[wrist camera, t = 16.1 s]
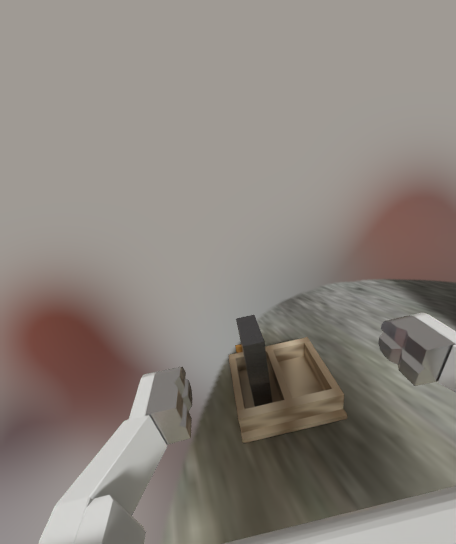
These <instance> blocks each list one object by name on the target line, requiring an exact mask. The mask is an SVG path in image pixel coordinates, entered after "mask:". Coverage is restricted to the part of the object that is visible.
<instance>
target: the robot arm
mask: <svg viewBox="0 0 456 544" xmlns="http://www.w3.org/2000/svg"><path fill="white" fill-rule="evenodd" d="M381 330H382V331H383V333H382V335H381V336H380V337H379V342H378V344H379V347H380V350H381V352H382V353H383V355H384V356H385V357H386V358H387V359H388V360H389V361H391V362H393V363H395V364H397V365H398V369H399V371H400V372H401V373H402V374H403V375H404V376H405V377H406V378H407V379H408V380H409V381H410V382H411V383H412V384H413V385H414V386H418V385H423V384H428V383H433V382H438V383H439V384H441V385H443V386H444V387H446V388H448V389H450V390H452V391H454V392H456V331H454V330H453V329H451V328H449V327H448V326H446V325H444V324H443V323H441V322H440V321H438V320H436V319H435V318H433V317H432V316H430V315H428V314H426V313H418V314H413V315H409V316H404V317H400V318H396V319H391V320H387V321H384V322H383V323H382V325H381ZM185 374H186V373H185V370H184V369H183V367H178V368H173V369H168V370H164V371H158V372H154V373H149V374H144V375H143V376H142V378H141V380H140V383H139V387H138V390H137V393H136V397H135V400H134V403H133V407H132V410H131V414H130V417H129V420H125V421H124V422H123V423H122V424H121V426H120V427H119V428H118V429H117V431H116V432H115V433H114V434H113V435H112V437H111V438H110V439H109V440H108V441H107V443H106V444H105V445H104V446H103V448H102V449H101V450H100V451H99V452H98V454H97V455H96V456H95V457H94V459H93V460H92V461H91V462H90V463H89V465H88V466H87V467H86V468H85V470H84V471H83V472H82V473H81V475H80V476H79V477H78V478H77V479H76V481H75V482H74V483H73V484H72V486H71V487H70V488H69V489H68V490H67V492H66V493H65V494H64V495H63V497H62V498H61V499H60V500H59V501H58V503H57V504H56V505H55V507H54V509H53V511H52V513H51V516H50V518H49V520H48V523H47V525H46V527H45V530H44V532H43V534H42V536H41V538H40V541H39V543H38V544H144V540H145V533H146V532H145V530H144V528H143V526H142V525H141V524H140V523H138V521H137V520H135V519H134V518H133V517H132V514H133V513H134V511H135V509H136V507H137V505H138V503H139V501H140V499H141V497H142V495H143V493H144V491H145V489H146V487H147V485H148V483H149V481H150V479H151V477H152V475H153V473H154V471H155V470H156V468H157V466H158V464H159V461H160V460H161V458H162V456H163V454H164V452H165V450H166V448H167V444H171V443H175V442H179V441H182V440H186V439H190V438H191V416H190V414H189V410H190V408H191V407H192V391H191V386H190V383H189V380H187V379H185ZM223 544H456V486H453V487H449V488H445V489H441V490H437V491H433V492H429V493H425V494H421V495H417V496H413V497H409V498H405V499H401V500H396V501H392V502H388V503H384V504H380V505H376V506H372V507H368V508H364V509H360V510H356V511H352V512H348V513H344V514H340V515H336V516H332V517H328V518H324V519H320V520H316V521H312V522H308V523H304V524H300V525H296V526H292V527H288V528H284V529H280V530H276V531H272V532H268V533H263V534H259V535H255V536H251V537H247V538H243V539H239V540H235V541H231V542H227V543H223Z"/></svg>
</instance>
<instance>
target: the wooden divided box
mask: <svg viewBox="0 0 456 544" xmlns="http://www.w3.org/2000/svg"><path fill="white" fill-rule="evenodd" d="M235 347H236V352H237V353H235V354H230V355H229V362H230V368H231V375H232V382H233V388H234V395H235V402H236V408H237V415H238V421H239V424H240V429H241V436H242V441H243V443H247V442H251V441H255V440H259V439H264V438H268V437H272V436H276V435H280V434H285V433H289V432H293V431H297V430H302V429H306V428H310V427H314V426H319V425H323V424H327V423H331V422H335V421H340V420H344V419H347V414H346V412H345V410H344V409H343V402H344V393H343V392H342V390H341V389H340V387H339V385H338V384H337V382H336V381H335V379H334V378H333V376H332V375H331V373H330V371H329V370H328V368H327V367H326V365H325V364H324V362H323V361H322V359H321V358H320V356H319V354H318V353H317V351H316V350H315V348H314V347H313V345H312V344H311V342H310V340H309V339H308V337H306V338H301V339H297V340H293V341H288V342H284V343H279V344H275V345H270V346H266V347H265V350H266V358H267V365H268V373H269V380H270V388H271V395H272V402H273V403H269V404H265V405H260V406H256V407H255V405H254V401H253V397H252V392H251V388H250V384H249V379H248V375H247V370H246V365H245V360H244V355H243V350H242V345H241V344H240V345H235Z"/></svg>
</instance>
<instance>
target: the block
mask: <svg viewBox="0 0 456 544" xmlns="http://www.w3.org/2000/svg"><path fill="white" fill-rule="evenodd" d="M236 320H237V325H238V330H239V335H240V340H241V345H242V350H243V355H244V360H245V365H246V370H247V375H248V379H249V384H250V388H251V392H252V397H253V401H254V405H255V407H256V406H260V405H265V404H269V403H273V402H272V395H271V388H270V380H269V373H268V365H267V358H266V350H265V343H264V339H263V337H262V334H261V331H260V329H259V326H258V323H257V321H256V318H255V316H254V315H251V316H246V317H242V318H237V319H236Z"/></svg>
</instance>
